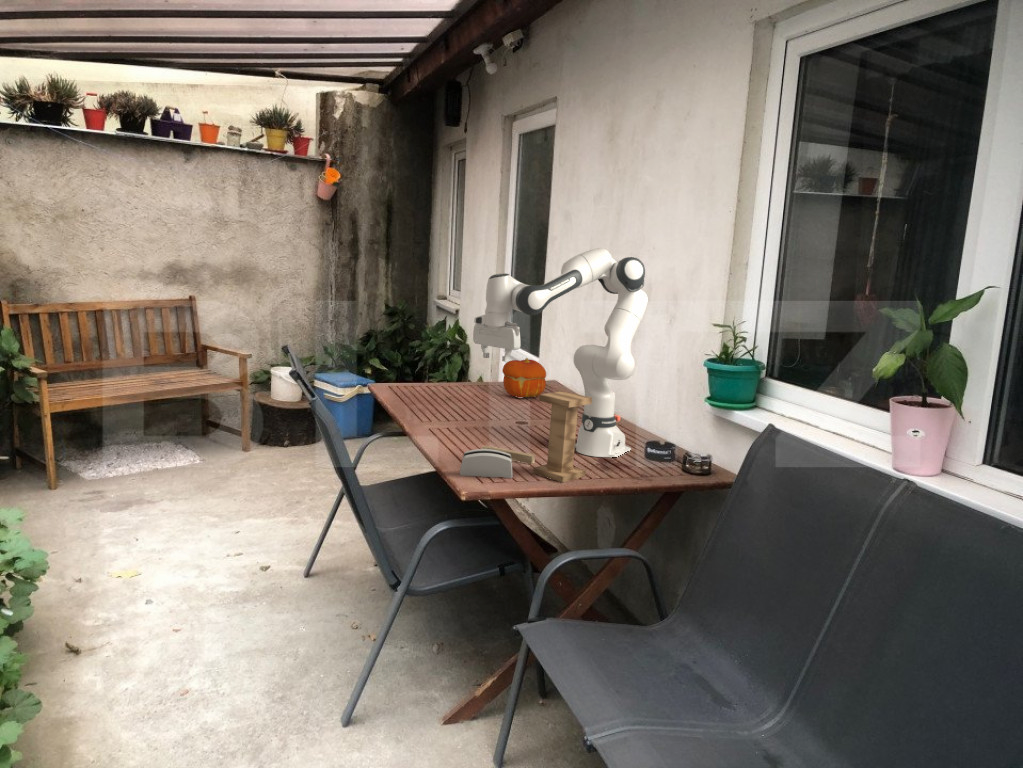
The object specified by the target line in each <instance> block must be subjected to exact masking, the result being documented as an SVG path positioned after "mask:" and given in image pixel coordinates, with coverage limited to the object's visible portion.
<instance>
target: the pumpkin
mask: <svg viewBox="0 0 1023 768" xmlns="http://www.w3.org/2000/svg"><path fill="white" fill-rule="evenodd" d="M502 374H503V382H502V383H503V389H505V391H506V393H507V394H509V395H510V396H511V395H512V396H511V397H513V396H517V397H528V398H531V397H534V396H537V397H539V395H540V394H543V392H545V389H546V386H547V382H546V377H547V371H546V369H545V367H544V366H543V365H542V364H541V363H540V362H538V361H536V360H534V359H531V358H530V359H529V358H528V357H526V358H525V359H522V360H521V359H520V360H518V359H517V360H516V359H513V360H509V361H508V362H506V363H505V364H504V365H503V367H502Z"/></svg>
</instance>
